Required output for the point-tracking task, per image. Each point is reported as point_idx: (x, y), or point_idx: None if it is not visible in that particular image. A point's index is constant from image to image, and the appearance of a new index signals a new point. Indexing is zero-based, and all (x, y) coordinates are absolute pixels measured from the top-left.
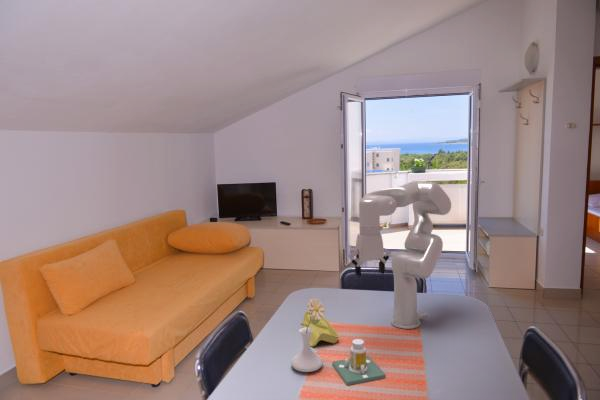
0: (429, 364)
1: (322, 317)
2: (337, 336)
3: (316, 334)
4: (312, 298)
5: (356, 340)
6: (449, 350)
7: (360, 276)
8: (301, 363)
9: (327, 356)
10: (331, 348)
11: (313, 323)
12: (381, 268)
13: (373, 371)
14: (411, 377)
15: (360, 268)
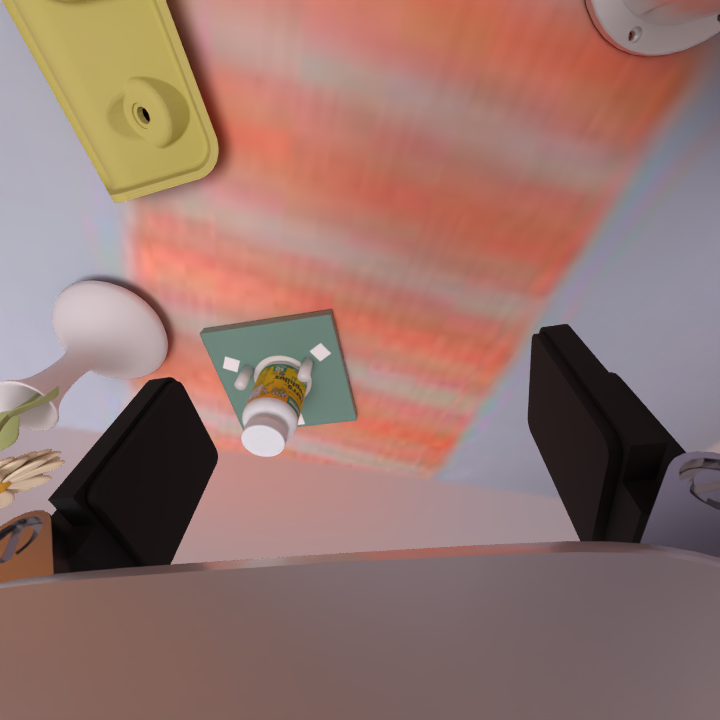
0: (517, 376)
1: None
2: (209, 167)
3: (95, 136)
4: None
5: (257, 434)
6: (651, 309)
7: (211, 459)
8: (92, 371)
9: (183, 270)
10: (195, 208)
11: (35, 406)
12: (555, 455)
13: (326, 403)
14: (428, 422)
15: (165, 561)
